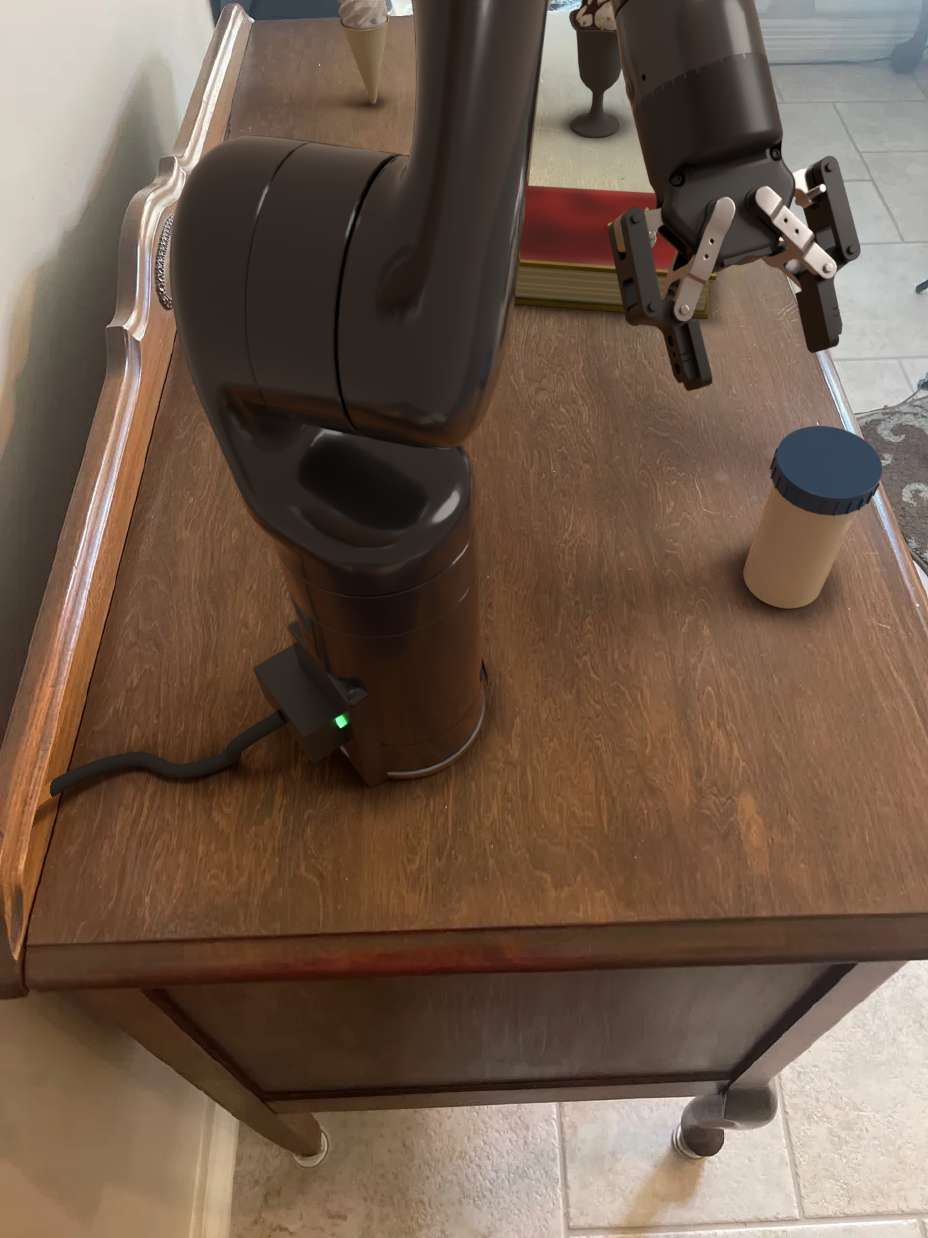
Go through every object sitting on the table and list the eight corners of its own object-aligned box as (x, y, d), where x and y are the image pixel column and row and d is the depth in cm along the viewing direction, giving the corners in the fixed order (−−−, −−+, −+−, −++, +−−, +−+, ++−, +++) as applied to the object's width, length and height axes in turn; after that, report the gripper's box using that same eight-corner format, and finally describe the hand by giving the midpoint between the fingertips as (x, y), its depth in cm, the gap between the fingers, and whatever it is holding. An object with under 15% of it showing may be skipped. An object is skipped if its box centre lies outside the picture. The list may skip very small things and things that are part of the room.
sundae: (625, 143, 92) (644, -29, 80) (559, 139, 93) (567, -32, 81) (631, 111, 96) (650, -58, 84) (568, 107, 97) (577, -60, 85)
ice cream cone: (340, 106, 99) (317, -59, 87) (369, 87, 101) (351, -76, 89) (377, 118, 97) (359, -49, 85) (406, 98, 99) (392, -67, 87)
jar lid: (828, 532, 50) (835, 515, 49) (748, 472, 53) (753, 455, 52) (897, 484, 52) (906, 466, 51) (816, 428, 55) (823, 410, 54)
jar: (785, 622, 58) (832, 512, 50) (727, 573, 60) (762, 460, 52) (838, 583, 60) (892, 470, 51) (779, 537, 62) (822, 422, 54)
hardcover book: (480, 220, 85) (479, 176, 82) (710, 235, 83) (719, 190, 79) (457, 298, 79) (455, 254, 75) (707, 318, 76) (717, 272, 72)
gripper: (608, 77, 46) (687, 394, 49) (848, 21, 49) (908, 325, 52) (558, 135, 54) (629, 408, 57) (769, 84, 56) (826, 347, 59)
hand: (763, 368), depth 54 cm, fingers open, 8 cm apart
